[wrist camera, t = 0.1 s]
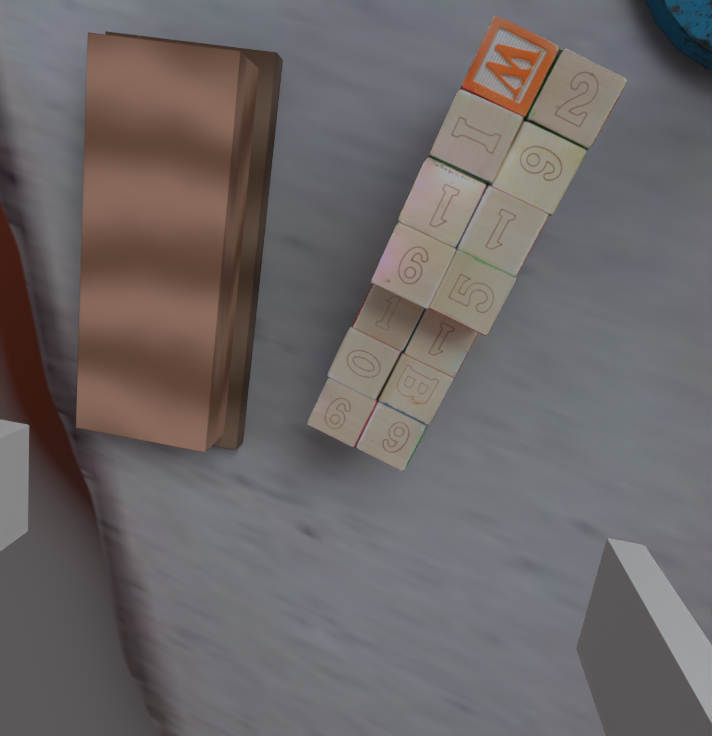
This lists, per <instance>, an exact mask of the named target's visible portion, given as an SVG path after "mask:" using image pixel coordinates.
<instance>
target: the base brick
mask: <svg viewBox="0 0 712 736" xmlns="http://www.w3.org/2000/svg"><path fill="white" fill-rule="evenodd" d="M282 61H283V60H282V58H281V57H280V56H279V55H278V54H277V53H275V52H267V51H259V50H251V49H243V48H235V47H227V46H218V45H210V44H202V43H194V42H186V41H178V40H170V39H162V38H153V37H145V36H137V35H129V34H121V33H113V32H106V35H104V34H96V33H88V49H87V82H86V115H85V148H84V181H83V214H82V248H81V281H80V314H79V347H78V380H77V413H76V428H82V429H87V430H92V431H97V432H102V433H108V434H113V435H118V436H123V437H129V438H134V439H139V440H144V441H149V442H155V443H160V444H165V445H170V446H175V447H181V448H186V449H191V450H196V451H201V452H206V451H207V450H208V449H209V448H210V447H211V446H218V447H223V448H228V449H233V450H237V448H238V447H239V446H240V445H241V444H242V443H243V436H244V426H245V417H246V407H247V397H248V388H249V378H250V368H251V359H252V349H253V340H254V330H255V320H256V311H257V301H258V292H259V282H260V272H261V263H262V253H263V244H264V234H265V224H266V215H267V205H268V196H269V186H270V176H271V167H272V157H273V148H274V138H275V128H276V119H277V109H278V100H279V90H280V80H281V71H282Z"/></svg>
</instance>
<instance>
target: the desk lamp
mask: <svg viewBox="0 0 712 736" xmlns="http://www.w3.org/2000/svg"><path fill="white" fill-rule="evenodd" d="M647 3H648V5H649V7H650V10H651V12H652V15H653V17H654V20H655V22H656V23H657V24H658V25H659V27H660V28H661V29H662V30H663V32H664V33H665V34H666V35H667V36H668V38H669V39H670V40H671V41H672V43H673V44H674V45H675V46H676V48H677V49H678V50H680V51H681V52H683V53H684V54H686V55H687V56H689V57H690V58H692V59H693V60H695V61H696V62H698V63H699V64H701V65H702V66H704V67H705V68H707V69H709V70H712V0H647Z"/></svg>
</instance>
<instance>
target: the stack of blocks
mask: <svg viewBox="0 0 712 736" xmlns="http://www.w3.org/2000/svg"><path fill="white" fill-rule="evenodd" d="M626 82H627V79H626V78H624V77H622V76H620V75H618V74H616V73H614V72H612V71H610V70H608V69H606V68H604V67H602V66H600V65H598V64H596V63H594V62H592V61H590V60H588V59H586V58H584V57H582V56H580V55H578V54H576V53H574V52H572V51H571V50H569V49H566V48H565V49H563V50H560V49H559V46H557V45H556V44H554V43H553V42H551V41H549V40H547V39H545V38H543V37H541V36H539V35H536V34H534V33H532V32H530V31H528V30H526V29H524V28H522V27H520V26H518V25H516V24H513V23H511V22H509V21H507V20H505V19H503V18H500V17H497V16H494V17H493V19H492V21H491V23H490V25H489V27H488V29H487V31H486V33H485V35H484V38H483V40H482V42H481V44H480V46H479V49H478V51H477V53H476V55H475V57H474V59H473V61H472V63H471V66H470V68H469V70H468V72H467V74H466V76H465V78H464V80H463V83H462V86H461V89H459V90H458V91H457V93H456V95H455V97H454V100H453V102H452V104H451V106H450V109H449V111H448V113H447V115H446V118H445V120H444V122H443V124H442V127H441V129H440V131H439V133H438V136H437V138H436V140H435V142H434V145H433V147H432V149H431V152H430V155H429V157H428V158H426V159H425V160H424V162H423V164H422V166H421V168H420V170H419V172H418V175H417V177H416V180H415V182H414V184H413V186H412V188H411V190H410V193H409V195H408V197H407V199H406V202H405V204H404V206H403V208H402V211H401V213H400V216H399V219H398V222H397V224H396V226H395V228H394V230H393V232H392V234H391V237H390V239H389V241H388V243H387V246H386V248H385V250H384V252H383V254H382V257H381V259H380V261H379V263H378V266H377V268H376V270H375V272H374V275H373V277H372V279H371V283H373V284H372V286H371V288H370V291H369V293H368V295H367V297H366V299H365V301H364V303H363V305H362V307H361V309H360V311H359V313H358V315H357V317H356V319H355V322H354V324H353V325H352V326H351V327H349V329H348V331H347V333H346V335H345V337H344V339H343V342H342V344H341V346H340V348H339V350H338V352H337V354H336V356H335V358H334V360H333V363H332V365H331V367H330V369H329V371H328V373H327V376H328V379H327V381H326V383H325V385H324V387H323V389H322V391H321V393H320V395H319V398H318V400H317V402H316V404H315V406H314V408H313V410H312V412H311V414H310V416H309V418H308V420H307V425H309V426H311V427H313V428H315V429H317V430H319V431H321V432H323V433H325V434H327V435H329V436H332V437H333V438H335V439H337V440H339V441H341V442H343V443H345V444H347V445H349V446H351V447H356V448H358V449H359V450H361V451H363V452H365V453H367V454H369V455H371V456H373V457H375V458H377V459H379V460H381V461H383V462H385V463H387V464H389V465H391V466H393V467H395V468H397V469H399V470H401V471H404V470H405V468H406V467H407V465H408V463H409V461H410V459H411V457H412V455H413V453H414V451H415V449H416V447H417V446H418V444H419V442H420V440H421V438H422V436H423V434H424V432H425V430H426V428H427V426H428V425H429V424H430V423H431V421H432V419H433V417H434V415H435V414H436V412H437V410H438V408H439V406H440V404H441V402H442V400H443V398H444V397H445V395H446V393H447V391H448V389H449V387H450V385H451V383H452V381H453V379H454V377H455V376H456V374H457V373H458V371H459V369H460V367H461V365H462V364H463V362H464V360H465V358H466V356H467V354H468V352H469V350H470V348H471V346H472V344H473V342H474V340H475V338H476V337H477V334H478V333H480V334H482V335H485V336H486V335H488V333H489V331H490V329H491V327H492V325H493V323H494V321H495V319H496V318H497V316H498V314H499V312H500V310H501V308H502V306H503V304H504V302H505V301H506V299H507V297H508V295H509V293H510V291H511V289H512V287H513V286H514V284H515V282H516V277H517V274H518V272H519V270H520V269H521V267H522V265H523V263H524V262H525V260H526V258H527V256H528V254H529V252H530V250H531V249H532V247H533V245H534V243H535V241H536V239H537V237H538V236H539V234H540V232H541V230H542V228H543V226H544V224H545V222H546V220H547V218H548V217H549V216H551V215H552V214H553V213H554V212H555V210H556V208H557V206H558V204H559V203H560V201H561V199H562V197H563V195H564V193H565V191H566V190H567V188H568V186H569V184H570V182H571V180H572V178H573V177H574V175H575V173H576V171H577V170H578V168H579V166H580V164H581V162H582V161H583V159H584V157H585V155H586V152H587V150H588V149H589V148H590V147H591V145H592V144H593V143H594V141H595V139H596V137H597V135H598V133H599V132H600V130H601V128H602V126H603V125H604V123H605V121H606V119H607V118H608V116H609V114H610V112H611V110H612V109H613V107H614V105H615V103H616V102H617V100H618V98H619V96H620V94H621V93H622V91H623V89H624V87H625V85H626Z"/></svg>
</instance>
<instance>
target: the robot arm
mask: <svg viewBox="0 0 712 736" xmlns="http://www.w3.org/2000/svg"><path fill="white" fill-rule="evenodd" d="M28 467H29V425H26V424H21V423H15V422H10V421H5V420H0V551H1V550H3V549H4V548H5V547H7V546H8V545H9V544H11V543H12V542H14V541H15V540H16V539H18V538H19V537H21V536H22V535H23V534H25V533H26V532H27V531H28V471H29V470H28ZM576 649H577V652H578V655H579V658H580V661H581V664H582V667H583V670H584V673H585V676H586V679H587V681H588V684H589V687H590V690H591V693H592V696H593V699H594V702H595V705H596V708H597V711H598V714H599V717H600V720H601V723H602V726H603V729H604V732H605V734H606V736H712V645H711V644H710V642H709V641H708V639H707V638H706V636H705V635H704V633H703V632H702V630H701V629H700V627H699V626H698V624H697V623H696V621H695V620H694V618H693V617H692V615H691V614H690V612H689V611H688V609H687V608H686V606H685V605H684V603H683V602H682V600H681V599H680V598H679V596H678V595H677V593H676V592H675V590H674V589H673V587H672V586H671V584H670V583H669V581H668V580H667V578H666V577H665V575H664V574H663V572H662V571H661V569H660V568H659V566H658V565H657V563H656V562H655V560H654V559H653V557H652V556H651V554H650V553H649V551H648V550H647V548H646V547H645V545H640V544H635V543H630V542H625V541H620V540H615V539H609V538H607V541H606V544H605V548H604V551H603V555H602V558H601V562H600V566H599V569H598V573H597V576H596V580H595V584H594V587H593V591H592V594H591V598H590V601H589V605H588V609H587V612H586V616H585V619H584V623H583V626H582V630H581V634H580V637H579V641H578V644H577V648H576Z"/></svg>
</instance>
